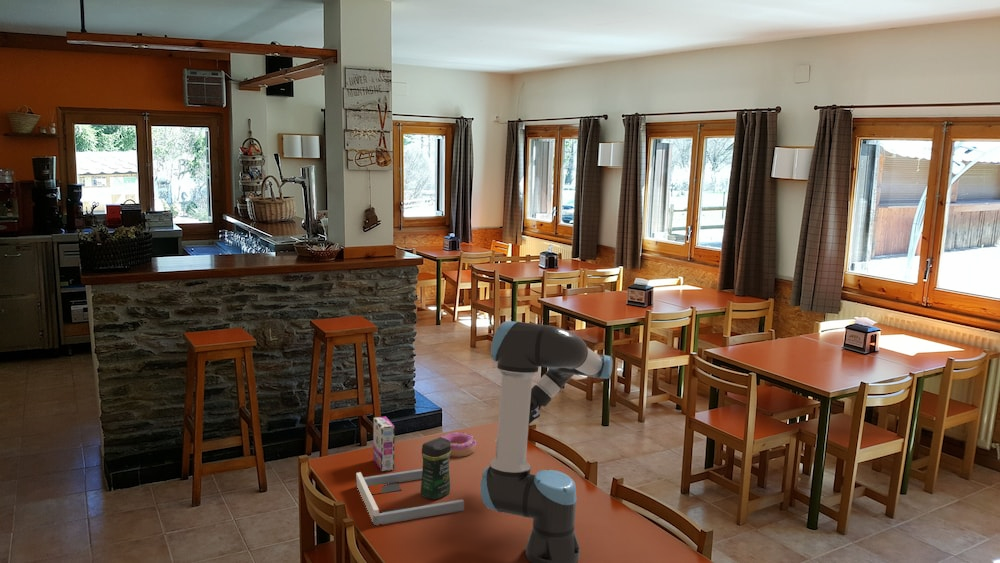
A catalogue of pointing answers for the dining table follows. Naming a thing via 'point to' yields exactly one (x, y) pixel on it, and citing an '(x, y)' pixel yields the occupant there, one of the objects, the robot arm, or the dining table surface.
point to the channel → (403, 513)
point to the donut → (460, 444)
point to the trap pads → (391, 488)
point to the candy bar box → (383, 443)
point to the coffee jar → (436, 468)
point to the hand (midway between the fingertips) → (497, 443)
